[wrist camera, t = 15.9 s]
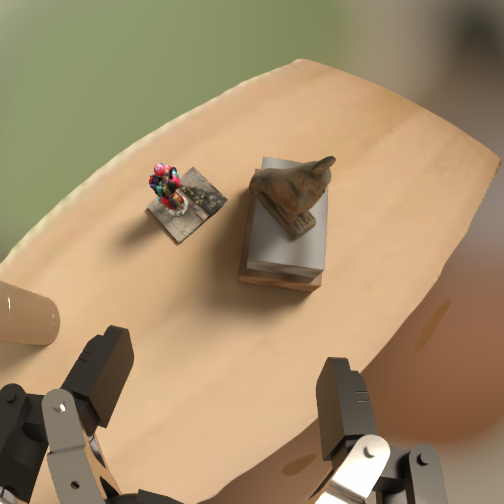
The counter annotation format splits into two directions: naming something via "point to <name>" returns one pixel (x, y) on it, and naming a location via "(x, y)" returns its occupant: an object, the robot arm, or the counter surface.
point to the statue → (183, 200)
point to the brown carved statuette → (293, 193)
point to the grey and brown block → (283, 245)
